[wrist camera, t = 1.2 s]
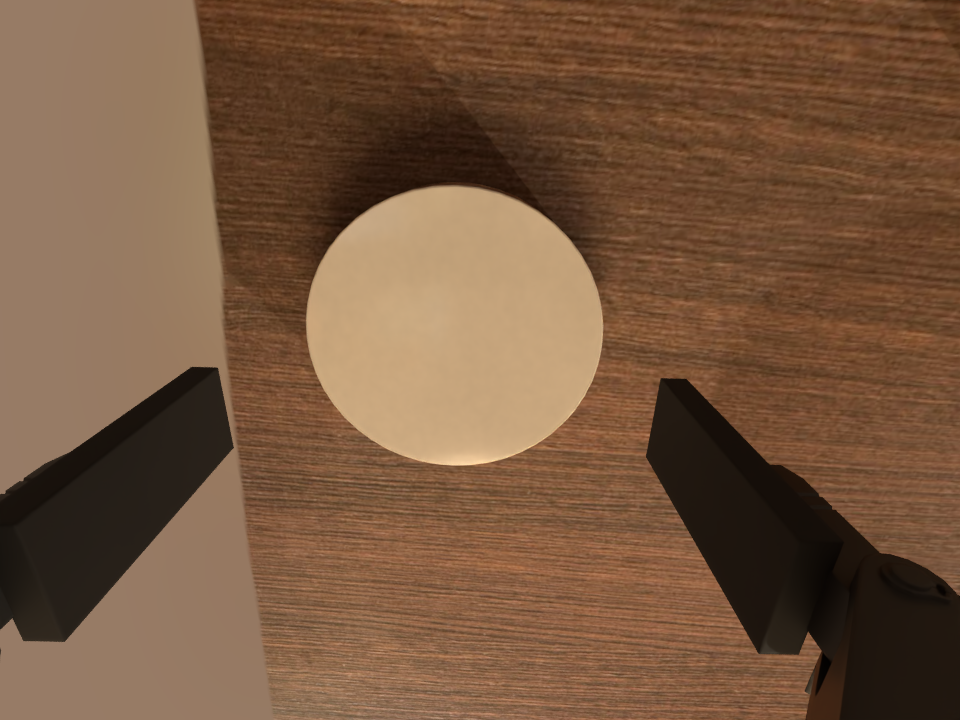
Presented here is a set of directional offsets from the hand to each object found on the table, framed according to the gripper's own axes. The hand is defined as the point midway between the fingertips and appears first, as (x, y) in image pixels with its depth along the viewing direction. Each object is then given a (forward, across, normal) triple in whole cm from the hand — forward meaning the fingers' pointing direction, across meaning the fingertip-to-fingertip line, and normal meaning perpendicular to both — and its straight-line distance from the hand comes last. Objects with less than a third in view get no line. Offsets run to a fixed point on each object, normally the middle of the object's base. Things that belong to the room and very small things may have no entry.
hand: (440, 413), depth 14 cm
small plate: (+8, 0, 0) cm, 8 cm away
